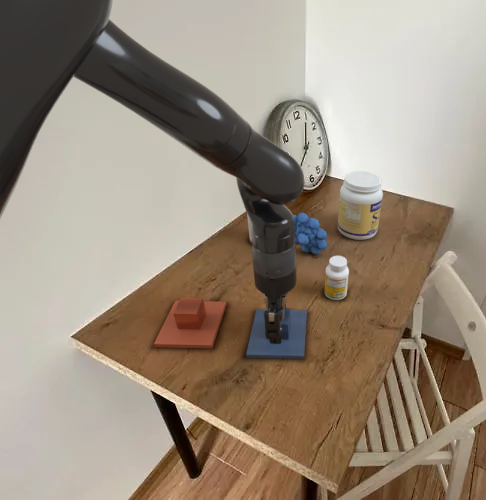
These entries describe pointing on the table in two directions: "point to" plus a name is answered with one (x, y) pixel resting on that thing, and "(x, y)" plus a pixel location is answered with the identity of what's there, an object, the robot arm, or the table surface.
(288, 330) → the slate block
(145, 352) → the table surface
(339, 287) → the supplement bottle
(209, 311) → the terracotta mat
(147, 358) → the table surface
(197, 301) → the terracotta block
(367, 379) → the table surface
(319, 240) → the grapes
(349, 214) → the supplement tub
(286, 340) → the slate mat
